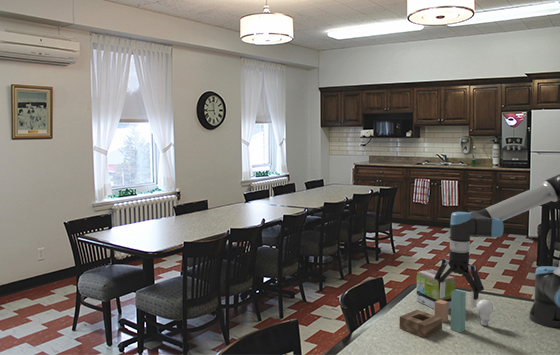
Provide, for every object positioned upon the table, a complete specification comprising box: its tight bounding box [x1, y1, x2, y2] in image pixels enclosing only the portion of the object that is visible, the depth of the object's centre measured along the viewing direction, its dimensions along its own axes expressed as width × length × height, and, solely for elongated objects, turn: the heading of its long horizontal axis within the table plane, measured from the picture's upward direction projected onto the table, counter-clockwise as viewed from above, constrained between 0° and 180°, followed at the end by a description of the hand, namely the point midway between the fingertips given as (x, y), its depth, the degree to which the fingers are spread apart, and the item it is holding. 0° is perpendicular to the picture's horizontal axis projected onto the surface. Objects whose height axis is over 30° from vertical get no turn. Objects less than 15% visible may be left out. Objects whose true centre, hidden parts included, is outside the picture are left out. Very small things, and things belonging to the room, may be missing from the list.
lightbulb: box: [476, 298, 494, 327], centre depth 191 cm, size 6×6×11 cm
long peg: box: [450, 288, 467, 333], centre depth 187 cm, size 4×4×16 cm
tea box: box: [416, 268, 456, 310], centre depth 215 cm, size 15×10×15 cm, turn 25°
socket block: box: [399, 309, 443, 339], centre depth 188 cm, size 12×12×5 cm
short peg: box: [434, 300, 449, 323], centre depth 198 cm, size 4×4×8 cm
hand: (457, 302), depth 187 cm, fingers open, 13 cm apart
